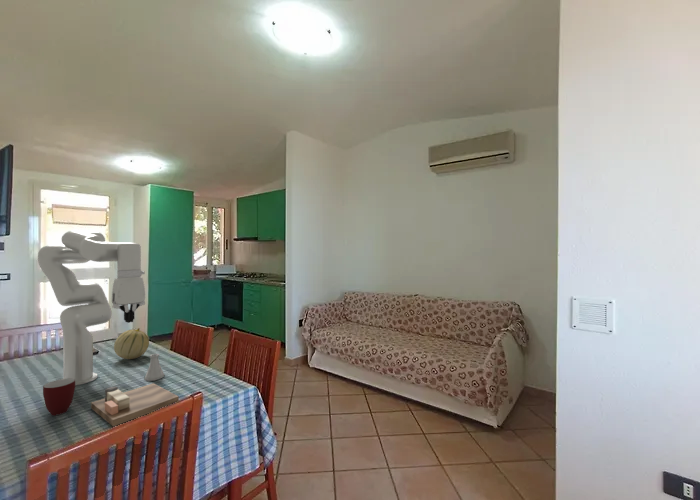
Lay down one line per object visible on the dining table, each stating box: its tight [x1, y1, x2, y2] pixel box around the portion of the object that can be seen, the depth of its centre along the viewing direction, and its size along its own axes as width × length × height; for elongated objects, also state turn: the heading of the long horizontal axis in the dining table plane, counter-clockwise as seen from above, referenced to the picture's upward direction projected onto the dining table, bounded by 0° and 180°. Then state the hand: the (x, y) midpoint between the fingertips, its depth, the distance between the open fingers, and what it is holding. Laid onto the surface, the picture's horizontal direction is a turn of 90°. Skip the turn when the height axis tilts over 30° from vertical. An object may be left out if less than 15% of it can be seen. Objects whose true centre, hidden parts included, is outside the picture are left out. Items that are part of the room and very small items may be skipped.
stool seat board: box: [90, 383, 180, 427], centre depth 114 cm, size 20×20×2 cm
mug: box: [42, 378, 76, 416], centre depth 109 cm, size 10×8×10 cm
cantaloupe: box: [113, 327, 150, 360], centre depth 164 cm, size 15×15×15 cm
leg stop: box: [105, 401, 118, 415], centre depth 105 cm, size 6×2×2 cm, turn 54°
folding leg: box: [104, 386, 130, 411], centre depth 110 cm, size 14×4×4 cm, turn 53°
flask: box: [143, 353, 165, 382], centre depth 138 cm, size 7×7×10 cm
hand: (129, 321), depth 124 cm, fingers closed
